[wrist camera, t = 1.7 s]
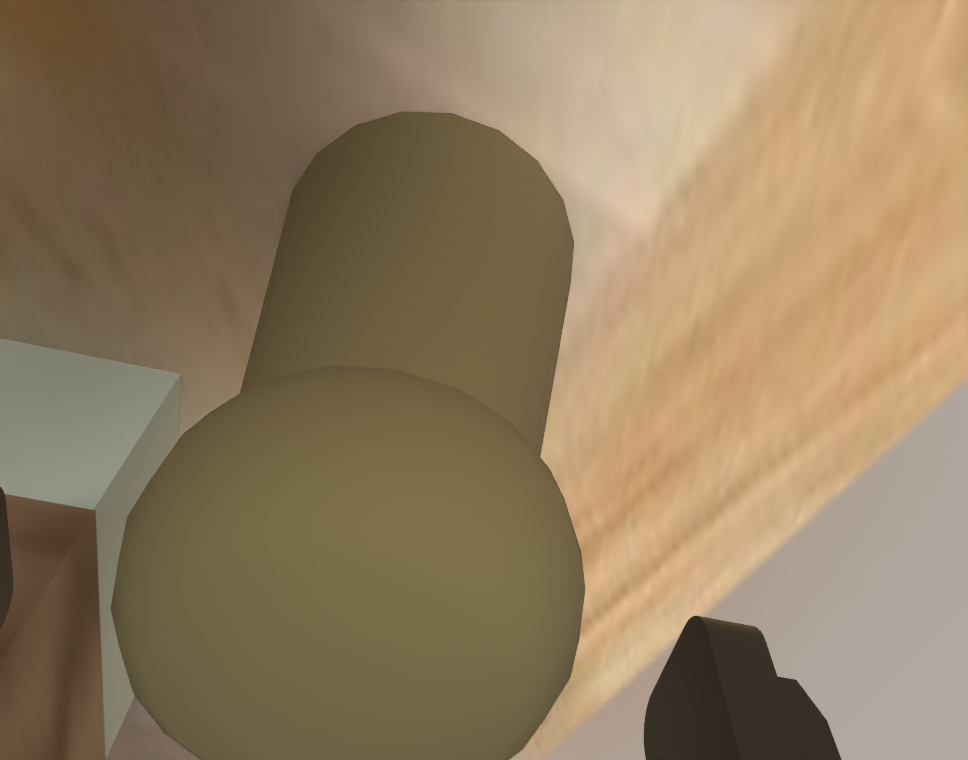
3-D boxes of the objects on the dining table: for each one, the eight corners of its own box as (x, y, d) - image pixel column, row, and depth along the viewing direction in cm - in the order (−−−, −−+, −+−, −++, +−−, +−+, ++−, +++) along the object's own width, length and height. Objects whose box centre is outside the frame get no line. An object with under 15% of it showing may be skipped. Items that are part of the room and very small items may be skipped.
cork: (430, 426, 20) (353, 937, 10) (223, 250, 18) (-106, 701, 8) (634, 266, 17) (768, 740, 8) (425, 40, 15) (282, 338, 6)
